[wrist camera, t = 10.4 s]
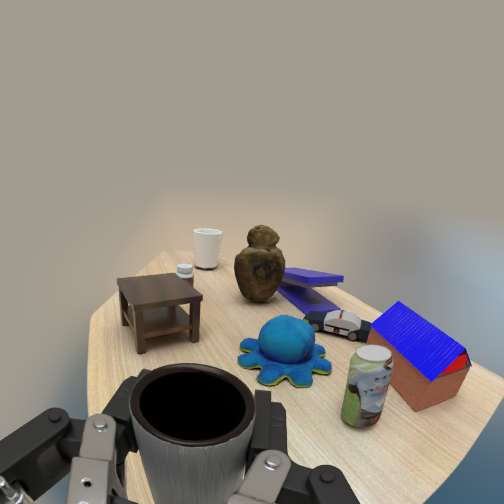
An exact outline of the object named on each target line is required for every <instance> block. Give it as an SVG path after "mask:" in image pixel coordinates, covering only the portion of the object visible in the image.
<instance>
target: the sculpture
mask: <svg viewBox="0 0 504 504" xmlns="http://www.w3.org/2000/svg"><path fill="white" fill-rule="evenodd" d="M279 239H280V238H279V236H278V234H277V233H276V232H275V231H273V229H271V228H269V227H267V226H264V225H259V226H255V227H254V228H253V229H251V230H250V231H249V233H248V236H247V241H248V244H249V246H248V247H247V248H245V249H243V250H242V252H241V253H240V254H238V255H237V256H236V258H235V263H234V271H235V276H236V280H237V283H238V286H239V289H240V291H241V293H242V295H243V296H244V297H245V298H246V299H248V300H250V301H253V302H261V301H265V300H267V299H269V298H270V297H271V296H272V295H273V294H274V293H275V292H276V290H277V289H278V287H279V285H280V283H281V281H282V278H283V275H284V272H285V259H284V257H283V254H282V251H281V250H280V249H278V248H277V247H276V244H277V243H278V242H279Z"/></svg>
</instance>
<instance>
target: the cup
mask: <svg viewBox="0 0 504 504" xmlns="http://www.w3.org/2000/svg"><path fill="white" fill-rule="evenodd" d="M222 234H223V232H222V231H220V230H216V229H208V228H207V229H206V228H199V229H195V230H194V256H195V266H196V268H202V269H203V270H207V269H208V268H210V269H212V270H213V269H215V267H216V266H217V262H218V257H219V250H220V245H221V240H222Z"/></svg>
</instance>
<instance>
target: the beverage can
mask: <svg viewBox="0 0 504 504" xmlns="http://www.w3.org/2000/svg"><path fill="white" fill-rule="evenodd" d="M393 365H394V363H393V359H392V357H391V351H390V350H389V349H387V348H386V347H383V346H379V345H364V346H360V347H359V348H357V350H356V353H355V354H354V355H353V356H352V358H351V361H350V367H349V373H348V379H347V385H346V390H345V396H344V401H343V406H342V411H341V416H342V418H343V420H344V421H345V422H347V423H348V424H350V425H353V426H356V427H365V426H370V425H373V424H375V423H376V422H377V421H378V420H379V418H380V416H381V412H382V409H383V405H384V401H385V398H386V394H387V390H388V386H389V382H390V378H391V374H392V369H393Z"/></svg>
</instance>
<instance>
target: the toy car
mask: <svg viewBox="0 0 504 504" xmlns="http://www.w3.org/2000/svg"><path fill="white" fill-rule="evenodd" d="M303 321H306V322H308V323H309V324H311V326H312V328H313V330H314V332H317V331H319V329H321V330H325V331H329V332H333V333H338V334H342V335H346V336H347V334H348V336H347V337H348V339H349V340H350V341H355V340H356V339H357V337H358V338H359V339H366V340H368V336H369V333H370V330H371V326H370V324H371V322H368V321H364V320H361V319H360V317H359V316H358V315H356V314H354V313H351V312H348V311H344V310H335V311H332V312H329V313H326V312H319V311H309V313H307V314H306V316H305V317H304V319H303Z"/></svg>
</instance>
